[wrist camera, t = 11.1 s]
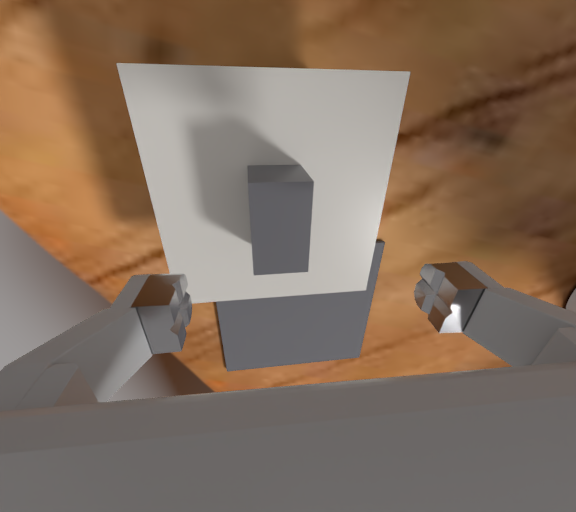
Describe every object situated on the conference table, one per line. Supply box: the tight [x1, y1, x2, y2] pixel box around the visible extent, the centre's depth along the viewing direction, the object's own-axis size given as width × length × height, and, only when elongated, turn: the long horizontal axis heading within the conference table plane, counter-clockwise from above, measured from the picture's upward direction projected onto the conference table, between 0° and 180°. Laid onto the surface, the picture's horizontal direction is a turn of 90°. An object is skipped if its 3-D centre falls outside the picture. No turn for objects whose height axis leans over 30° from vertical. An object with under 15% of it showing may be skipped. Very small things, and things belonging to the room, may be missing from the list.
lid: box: [116, 63, 410, 303], centre depth 15 cm, size 14×14×4 cm
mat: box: [216, 241, 385, 371], centre depth 30 cm, size 17×17×1 cm
